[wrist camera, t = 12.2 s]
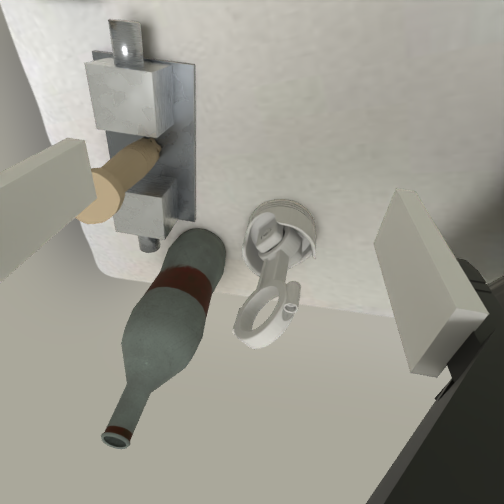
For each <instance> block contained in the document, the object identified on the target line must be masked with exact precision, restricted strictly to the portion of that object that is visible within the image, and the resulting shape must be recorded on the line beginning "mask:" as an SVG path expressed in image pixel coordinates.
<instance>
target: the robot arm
mask: <svg viewBox="0 0 504 504" xmlns="http://www.w3.org/2000/svg"><path fill="white" fill-rule="evenodd" d="M96 199H97V195H96V191H95V186H94V181H93V177H92V172H91V167H90V162H89V158H88V153H87V148H86V144H85V140H79V139H72V138H66V139H64V140H62V141H60V142H58V143H56V144H54V145H53V146H51V147H49V148H47V149H45V150H43V151H41V152H39V153H37V154H35V155H33V156H31V157H29V158H27V159H25V160H23V161H22V162H20V163H18V164H16V165H14V166H12V167H10V168H8V169H6V170H4V171H2V172H0V283H1V282H2V281H3V280H4V279H5V278H7V277H8V276H9V275H10V274H11V273H12V272H13V271H15V270H16V269H17V268H18V267H19V266H20V265H21V264H23V263H24V262H25V261H26V260H27V259H28V258H29V257H31V256H32V255H33V254H34V253H35V252H36V251H37V250H39V249H40V248H41V247H42V246H43V245H44V244H45V243H46V242H48V241H49V240H50V239H51V238H52V237H53V236H54V235H55V234H57V233H58V232H59V231H60V230H61V229H63V228H64V227H65V226H66V225H67V224H68V223H69V222H70V221H72V220H73V219H74V218H75V217H76V216H77V215H79V214H80V213H81V212H82V211H83V210H84V209H85V208H87V207H88V206H89V205H90V204H91V203H92V202H93V201H95V200H96ZM374 247H375V250H376V254H377V257H378V261H379V264H380V268H381V271H382V275H383V278H384V282H385V285H386V289H387V292H388V296H389V299H390V303H391V306H392V310H393V313H394V317H395V320H396V324H397V327H398V331H399V334H400V338H401V341H402V345H403V348H404V352H405V355H406V358H407V362H408V366H409V369H410V372H411V373H415V374H420V375H426V376H431V377H436V378H437V377H438V376H439V375H440V373H441V372H442V371H443V370H444V368H445V367H446V366H448V369H449V371H450V373H451V376H452V379H451V380H450V381H449V383H448V384H447V385H446V386H445V387H444V388H443V389H442V391H441V392H440V393H439V394H438V395H437V396H436V397H435V399H436V401H435V403H434V404H433V406H432V407H431V409H430V410H429V412H428V413H427V414H426V416H425V417H424V419H423V420H422V422H421V423H420V425H419V426H418V428H417V429H416V431H415V432H414V433H413V435H412V436H411V438H410V439H409V441H408V442H407V444H406V445H405V447H404V448H403V450H402V451H401V453H400V454H399V456H398V457H397V459H396V460H395V462H394V463H393V464H392V466H391V468H390V469H389V470H388V472H387V474H386V475H385V476H384V478H383V479H382V481H381V482H380V484H379V485H378V487H377V488H376V490H375V491H374V492H373V494H372V496H371V497H370V498H369V500H368V501H367V503H366V504H504V276H502V277H501V278H499V279H497V280H495V281H493V282H492V283H490V284H488V285H487V284H485V283H486V282H485V281H484V279H483V278H482V276H481V274H480V273H479V271H478V270H477V269H475V268H474V267H473V266H472V265H471V264H469V263H468V262H467V261H466V260H463V259H457V258H455V256H454V255H453V253H452V251H451V250H450V248H449V246H448V245H447V243H446V241H445V240H444V238H443V236H442V235H441V233H440V231H439V230H438V228H437V226H436V225H435V223H434V222H433V220H432V218H431V217H430V215H429V213H428V212H427V210H426V208H425V207H424V205H423V203H422V202H421V200H420V198H419V197H418V195H417V193H416V192H415V191H410V190H403V189H397V188H396V190H395V192H394V195H393V197H392V200H391V202H390V205H389V207H388V209H387V212H386V214H385V217H384V219H383V222H382V224H381V227H380V229H379V231H378V234H377V236H376V239H375V241H374Z"/></svg>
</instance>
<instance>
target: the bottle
mask: <svg viewBox="0 0 504 504" xmlns="http://www.w3.org/2000/svg"><path fill="white" fill-rule="evenodd" d="M224 266H225V249H224V245H223V243H222V242H221V240H220V239H219V238H218V237H217V236H216V235H215V234H213V233H211V232H209V231H207V230H203V229H191V230H189V231H187V232H185V233H183V234H182V235H180V236H179V238H178V239H177V240H176V241H175V242H174V243H173V244H172V245H171V247H170V248H169V249H168V252H167V255H166V257H165V260H164V263H163V266H162V268H161V271H160V273H159V275H158V276H157V277H156V279H155V280H154V282H153V283H152V285H151V286H150V287H149V289H148V290H147V292H146V293H145V295H144V296H143V297H142V298H141V300H140V301H139V302H138V303H137V305H136V306H135V307H134V309H133V311H132V313H131V315H130V317H129V320H128V322H127V325H126V327H125V330H124V334H123V338H122V343H121V344H122V351H123V358H124V365H125V372H126V379H127V385H126V388H125V390H124V392H123V394H122V396H121V398H120V400H119V403H118V405H117V407H116V409H115V411H114V413H113V415H112V417H111V419H110V422H109V424H108V426H107V428H106V430H105V432H104V433H103V434H102V435H101V437H102V441H103V442H104V443H105V444H107V445H108V446H110V447H113V448H117V449H125V448H127V447H128V446H129V445H130V439H131V437H132V435H133V432H134V430H135V428H136V425H137V423H138V421H139V418H140V416H141V414H142V412H143V409H144V407H145V405H146V402H147V400H148V398H149V396H150V393H151V392H153V391H154V390H156V389H157V388H158V387H160V386H161V385H162V384H164V383H165V382H167V381H168V380H169V379H170V378H172V377H173V376H175V375H176V374H177V373H179V372H180V371H182V370H183V369H184V368H185V367H186V366H187V365H188V363H189V362H190V360H191V359H192V357H193V355H194V354H195V352H196V350H197V347H198V345H199V343H200V341H201V339H202V336H203V331H204V326H205V320H206V316H207V312H208V308H209V303H210V300H211V296H212V293H213V292H214V290H215V288H216V286H217V284H218V282H219V280H220V279H221V277H222V275H223V272H224Z"/></svg>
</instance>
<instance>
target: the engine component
mask: <svg viewBox="0 0 504 504" xmlns="http://www.w3.org/2000/svg"><path fill="white" fill-rule="evenodd" d="M315 235H316V233H315V223H314V219H313V217H312V215H311V214H310V212H309V211H308V210H307V209H306V208H305V207H303V206H302V205H300V204H299V203H296V202H294V201H291V200H285V199H278V200H272V201H268V202H266V203H264V204H262V205H260V206H259V207H258V208H257V209H256V210H255V211H254V212H253V214H252V216H251V218H250V221H249V224H248V228H247V232H246V235H245V239H244V243H243V247H242V256H243V259H244V262H245V264H246V265H247V267H248V268H249V269H250V270H251V271H252V272H253V273H254V274H256V275H257V276H259V277H260V278H259V282H258V286H257V289H256V290H255V291H254V292H253V293H252V294H251V295H250V296H249V298H248V299H247V300H246V302H245V303H244V304H243V306H242V307H241V308H240V309H239V311H238V314H237V318H236V321H235V324H234V327H233V330H232V332H233V334H234V335H236V336H237V338H238V339H239V340H241V341H242V342H243V343H245V344H246V345H247V346H249V347H250V348H253V349H259V348H263V347H265V346H267V345H269V344H271V343H272V342H274V341H275V340H276V339H277V338H278V337H280V335H281V334H282V333H283V332H284V331H285V329H286V328H287V327H288V326H289V324H290V322H291V321H292V318H293V316H294V314H295V312H297V311H298V305H299V298H300V290H301V285H300V284H299V283H298V282H296V281H291V282H289V283H288V284H286V283H285V280H286V274H287V270H288V269H290V268H291V267H293V266H295V265H297V264H300V263H301V262H303V261H305V260H306V259H307V258H308V257H309V256H311V255H312V257H313V258H314V259H316V236H315ZM278 296H279V299H278V303H277V305H276V307H275V309H274V311H273V313H272V314H271V315H270V317H269V318H268V319H267V320H266V321H265V322H264V323H263V324H262V325H261V326H259V327H258V328H256V329H254V330H252V325H253V322H254V320H255V318H256V316H257V314H258V312H259V311H260V310H261V309H262V308H263V306H264V305H265V304H266V303H268V302H269V301H270V300H272V299H273V298H275V297H278Z"/></svg>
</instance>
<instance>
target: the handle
mask: <svg viewBox="0 0 504 504" xmlns="http://www.w3.org/2000/svg"><path fill="white" fill-rule="evenodd" d="M160 151H161V146H160V145H158V144H157V143H156V141H155V139H154V138H150V139H145V138H141V139H139V140H137V141H135V142H133V143H131V144H129V145H128V146H126V147H125V148H123V149H122V150H120V151H119V152H118V153H117V154H116V155H115V156H113V157H112V158H111V159H110V160H109V161H108V162H107V163H106V164H105V165H104V166H102V167H101V168H93V169H91V172H92V177H93V181H94V186H95V191H96V195H97V199H96V200H95V201H93V202H92V203H91V204H90V205H89V206H88V207H87V208H85V209H84V210H83V211H82V212H81V213H80V214H79V215H77V216H76V217H75V218H77V219H78V220H80V221H81V222H83V223H86V224H96V223H102V222H105V221H106V220H108V219H109V218H111V217H112V216H113V215H114V214H115V213H117V211H118V210H119V209H120V208H121V206H122V203H123V201H124V198H125V192H126V191H127V190H128V189H130V188H131V187H132V186H133V185H135V184H136V183H137V182H138V181H140V180H141V179H142V178H143V177H144V176H145V175H146V174H147V173H148V172H149V171H150V170H151V169H152V167H153V166H154V165H155V163H156V162H157V161H158V159H159V157H160V156H159V153H160Z"/></svg>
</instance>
